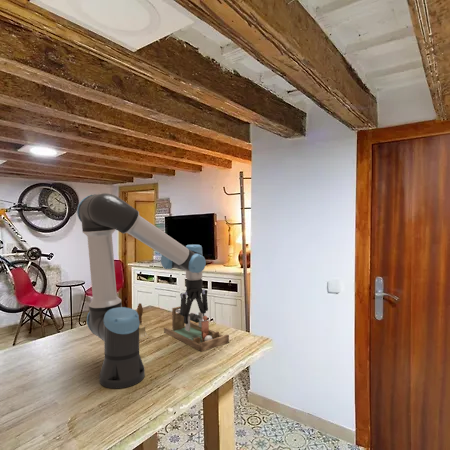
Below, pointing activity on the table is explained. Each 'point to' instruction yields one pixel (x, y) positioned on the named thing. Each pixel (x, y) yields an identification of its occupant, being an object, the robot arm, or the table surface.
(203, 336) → the kicker
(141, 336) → the hand bell
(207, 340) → the ball
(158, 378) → the table surface
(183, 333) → the pitch
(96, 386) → the table surface
